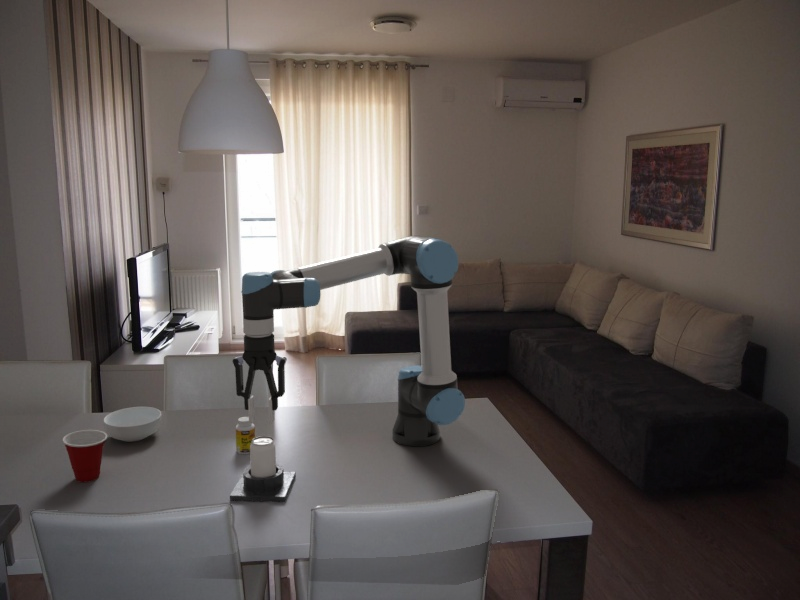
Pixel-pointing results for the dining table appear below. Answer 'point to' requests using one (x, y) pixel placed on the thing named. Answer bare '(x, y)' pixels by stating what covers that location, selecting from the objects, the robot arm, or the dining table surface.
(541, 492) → the dining table surface
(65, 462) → the dining table surface
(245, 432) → the supplement bottle
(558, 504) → the dining table surface
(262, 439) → the can
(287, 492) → the socket
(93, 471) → the plastic cup
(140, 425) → the cereal bowl
